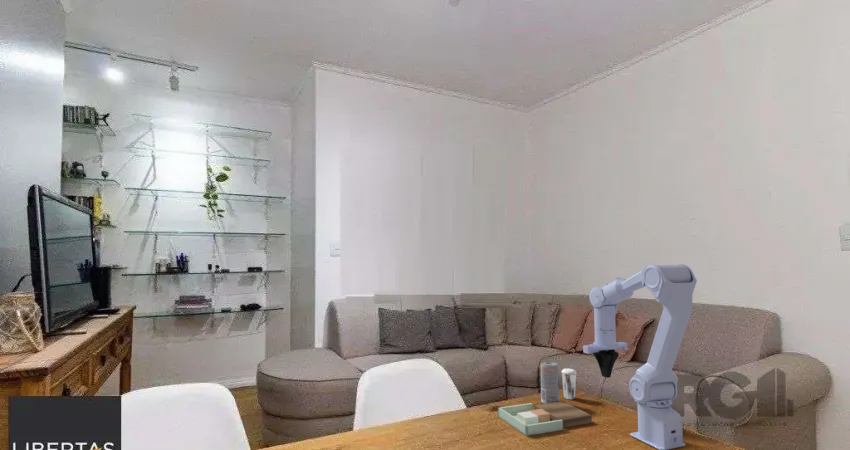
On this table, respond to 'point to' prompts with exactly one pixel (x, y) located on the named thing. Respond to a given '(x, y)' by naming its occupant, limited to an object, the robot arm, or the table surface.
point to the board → (566, 413)
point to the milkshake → (569, 382)
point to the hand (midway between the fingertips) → (606, 376)
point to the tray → (511, 418)
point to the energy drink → (549, 382)
